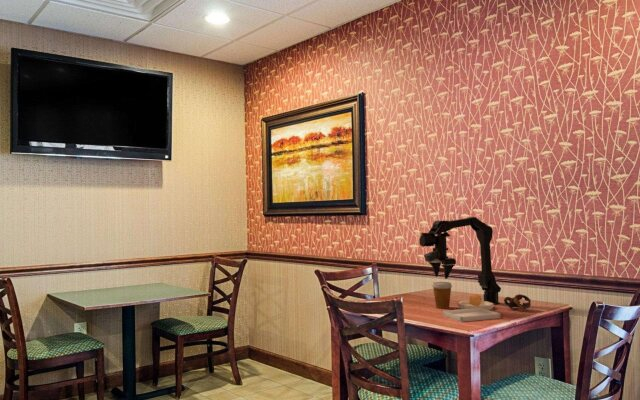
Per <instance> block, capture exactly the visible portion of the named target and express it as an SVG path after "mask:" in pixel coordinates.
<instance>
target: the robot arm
mask: <svg viewBox="0 0 640 400" xmlns="http://www.w3.org/2000/svg"><path fill="white" fill-rule="evenodd" d="M466 226H467V227H468V226H470V228H471V229H472V230H473V231H474V232H475V235H476V238H477V240H478V242H479V249H480V250H479V251H480V264H481V266H480V267H481V272H480V274H477V279H478V280H477V283H478V285H479V287H480V288H481V290H482V291H483V301H487V302H491V303H494V305H499V304H501V302H499V293H500V292H501V290H502V288H501V286H500V285H499V284H498V283H497V279H496V276H495V274H494V272H493V268H492V255H491V241H492V239H493V233H494V229H493V227H492V226H490V225H489V224H486V223H485V222H484V221H482V220H479V218H477V217H476V216H468V217H465V218H458V219H452V220H439V219H437V220H435V221H433V223H432V227H430V229H429V230H428V232H421V233H420V234H421V235H420V236H419V245H420V247H423V248H424V247H432V251H429V252H427V253H425V254H423V257H424V260H425V262H428V264H429V265H430V266H431V267H432V270H433V273H434V276H435V278H437V277H439V273H440V269H441V267H442V268H443V273H444V279H445V280H446V279H448V278H449V276H450V274H451V272H452V270H453V268H454V267H455V265H457V260H456V258H454V257H449V256H448V255H447V253H448V252H447V251H449V247H447V245H448V244H447V238H448V237H449V238H450V237H451V234H450V233H448V231H451V230H452V229H456V228H462V227H466Z"/></svg>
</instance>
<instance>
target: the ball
mask: <svg viewBox="0 0 640 400" xmlns="http://www.w3.org/2000/svg"><path fill="white" fill-rule="evenodd" d="M468 301H469V302H470V304H471V305H473V306H479V305H480V304H481V302H482V301H483V298H482V297H481V295H480V294H478V293H472V294H470V295H469V297H468Z"/></svg>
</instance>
